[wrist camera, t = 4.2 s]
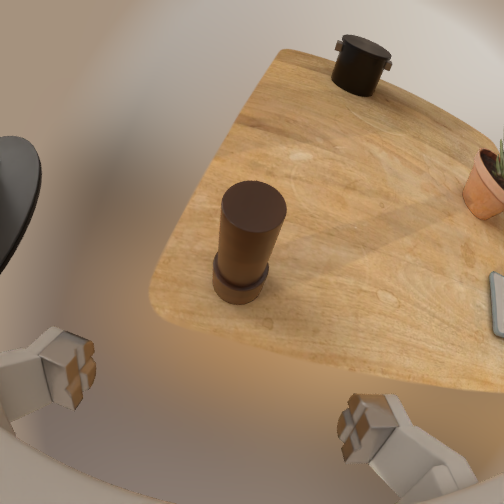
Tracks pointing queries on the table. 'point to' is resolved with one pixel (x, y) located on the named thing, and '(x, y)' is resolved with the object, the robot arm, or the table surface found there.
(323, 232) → the table surface
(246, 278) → the walnut pestle
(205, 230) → the table surface
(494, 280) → the smartphone
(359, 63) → the black cooking pot
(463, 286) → the table surface
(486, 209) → the potted plant
